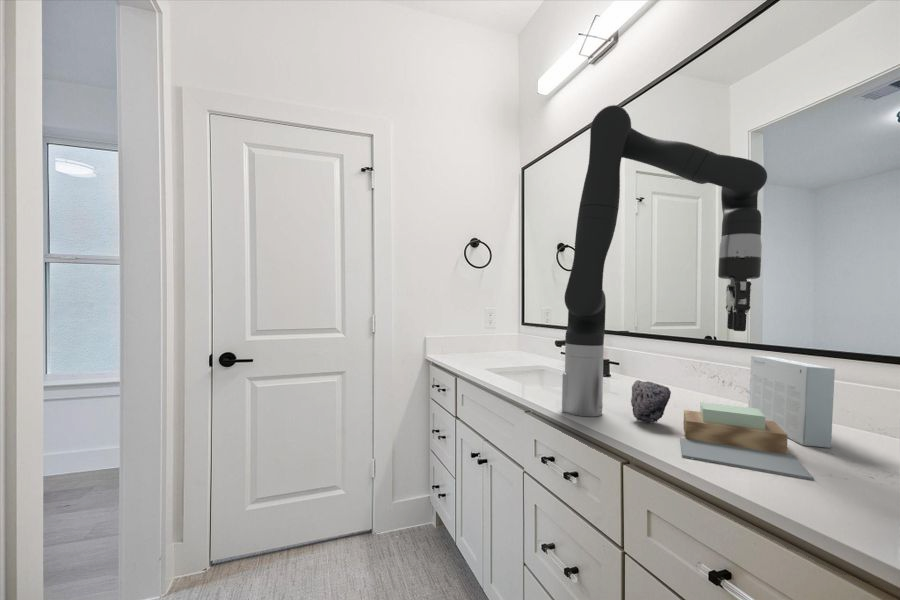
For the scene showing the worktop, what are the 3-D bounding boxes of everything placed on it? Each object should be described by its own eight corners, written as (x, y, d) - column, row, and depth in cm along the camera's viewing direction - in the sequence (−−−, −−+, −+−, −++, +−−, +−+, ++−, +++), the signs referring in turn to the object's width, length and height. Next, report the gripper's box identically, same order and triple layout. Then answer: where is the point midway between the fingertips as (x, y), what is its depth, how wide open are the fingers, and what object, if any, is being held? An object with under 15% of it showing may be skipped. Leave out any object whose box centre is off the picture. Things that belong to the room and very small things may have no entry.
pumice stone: (673, 431, 87) (674, 385, 87) (635, 427, 89) (635, 382, 89) (661, 418, 97) (662, 377, 97) (627, 415, 99) (627, 375, 99)
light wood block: (685, 440, 80) (686, 420, 80) (683, 427, 89) (683, 409, 89) (787, 456, 73) (787, 434, 73) (773, 440, 82) (774, 421, 82)
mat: (682, 457, 71) (682, 454, 71) (680, 439, 81) (680, 437, 81) (814, 480, 63) (814, 477, 63) (794, 457, 72) (794, 455, 72)
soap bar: (702, 421, 80) (703, 408, 80) (700, 413, 87) (700, 401, 87) (765, 429, 76) (765, 416, 76) (757, 420, 82) (757, 408, 82)
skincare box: (835, 449, 78) (836, 368, 78) (803, 446, 79) (804, 366, 79) (771, 419, 98) (772, 355, 98) (746, 417, 99) (747, 354, 100)
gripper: (715, 260, 96) (712, 327, 96) (723, 252, 83) (719, 330, 83) (754, 260, 92) (751, 330, 92) (768, 252, 80) (764, 333, 80)
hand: (736, 330), depth 88 cm, fingers open, 8 cm apart
